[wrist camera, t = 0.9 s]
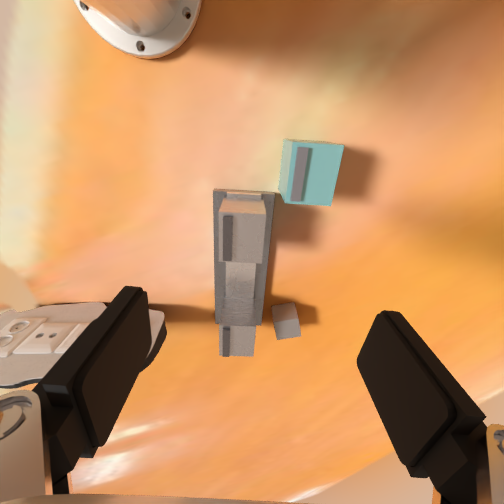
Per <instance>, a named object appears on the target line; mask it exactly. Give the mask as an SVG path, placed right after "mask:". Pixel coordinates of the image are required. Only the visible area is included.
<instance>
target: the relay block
mask: <svg viewBox="0 0 504 504" xmlns="http://www.w3.org/2000/svg"><path fill="white" fill-rule="evenodd" d="M271 307H272V316H273V323H274V328H275V332H276V337H277V340H280V339H286V338H293V337H300V336H301V332H300V325H299V319H298V315H297V311H296V307H295V303H294V302H292V303H286V304H280V305H274V306H271Z"/></svg>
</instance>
